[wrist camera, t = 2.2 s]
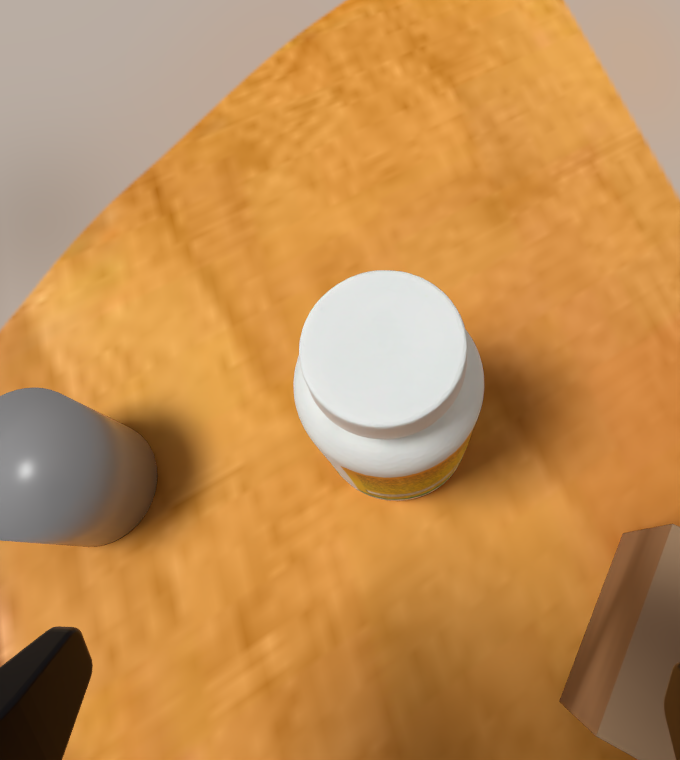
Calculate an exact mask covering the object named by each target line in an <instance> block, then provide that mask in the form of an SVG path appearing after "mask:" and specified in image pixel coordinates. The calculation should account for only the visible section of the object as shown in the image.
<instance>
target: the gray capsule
mask: <svg viewBox="0 0 680 760" xmlns="http://www.w3.org/2000/svg"><path fill="white" fill-rule="evenodd" d="M156 486H157V465H156V460H155V457H154V454H153V452H152V450H151V448H150V446H149V444H148V443H147V442H146V440H145V439H144V438H143V437H142V436H141V435H140V434H139V433H137V432H136V431H135V430H133V429H131V428H129V427H127V426H125V425H123V424H121V423H119V422H117V421H115V420H113V419H111V418H109V417H107V416H105V415H103V414H101V413H99V412H97V411H95V410H93V409H91V408H89V407H87V406H85V405H83V404H81V403H79V402H76V401H74V400H72V399H70V398H68V397H66V396H64V395H62V394H60V393H58V392H55V391H52V390H49V389H44V388H24V389H19V390H15V391H12V392H9V393H6V394H4V395H2V396H0V540H2V541H15V542H29V543H42V544H56V545H70V546H83V547H96V546H102V545H106V544H109V543H112V542H114V541H116V540H118V539H120V538H122V537H123V536H125V535H126V534H128V533H129V532H130V531H131V530H133V529H134V528H135V527H136V526H137V525H138V524H139V522H140V521H141V520H142V519H143V517H144V516H145V514H146V513H147V511H148V509H149V507H150V505H151V503H152V501H153V498H154V495H155V491H156Z"/></svg>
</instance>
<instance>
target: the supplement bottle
mask: <svg viewBox="0 0 680 760" xmlns="http://www.w3.org/2000/svg"><path fill="white" fill-rule="evenodd" d="M483 396H484V372H483V366H482V362H481V359H480V355H479V353H478V350H477V348H476V345H475V344H474V342H473V340H472V338H471V337H470V335H469V333H468V332H467V331H466V329H465V327H464V324H463V321H462V318H461V316H460V314H459V312H458V310H457V309H456V307H455V306H454V304H453V303H452V301H451V300H450V299H449V298H448V297H447V296H446V294H445V293H444V292H442V291H441V290H440V289H439V288H437V287H436V286H435V285H433V284H432V283H430V282H429V281H427V280H425V279H423V278H420V277H418V276H416V275H413V274H410V273H405V272H401V271H385V270H379V271H371V272H365V273H361V274H358V275H355V276H353V277H350V278H348V279H346V280H344V281H342V282H341V283H339V284H337V285H336V286H335V287H333V288H332V289H330V290H329V291H328V292H327V293H326V294H325V295H323V296H322V297H321V299H320V300H319V301H318V302H317V303H316V304H315V306H314V307H313V309H312V310H311V312H310V314H309V315H308V317H307V319H306V321H305V324H304V327H303V330H302V334H301V338H300V345H299V357H298V360H297V364H296V368H295V374H294V398H295V404H296V409H297V412H298V415H299V418H300V420H301V422H302V424H303V427H304V428H305V430H306V432H307V434H308V435H309V437H310V438H311V440H312V441H313V442H314V443H315V445H316V446H317V447H318V448H319V450H320V451H321V452H322V453H323V454H324V456H325V457H326V458H327V459H328V460H329V461H330V463H331V464H332V465H333V466H334V468H335V469H336V470H337V472H338V473H339V474H340V476H342V477H343V478H344V479H345V480H346V481H347V482H348V483H349V484H350V485H352V486H353V487H354V488H356V489H357V490H359V491H361V492H362V493H365V494H367V495H369V496H372V497H375V498H378V499H383V500H394V501H398V500H409V499H414V498H418V497H421V496H424V495H426V494H428V493H431V492H432V491H434V490H436V489H437V488H439V487H440V486H441V485H443V484H444V483H445V482H446V481H447V480H448V479H449V478H450V477H451V475H452V474H453V473H454V472H455V470H456V469H457V467H458V465H459V464H460V462H461V460H462V458H463V455H464V453H465V451H466V448H467V445H468V443H469V440H470V437H471V435H472V432H473V429H474V427H475V424H476V421H477V419H478V416H479V413H480V410H481V407H482V402H483Z"/></svg>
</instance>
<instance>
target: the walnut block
mask: <svg viewBox="0 0 680 760" xmlns="http://www.w3.org/2000/svg"><path fill="white" fill-rule="evenodd" d="M679 662H680V527H679V526H676V525H674V524H669V525H664V526H659V527H654V528H649V529H644V530H638V531H633V532H628V533H623V535H622V537H621V540H620V542H619V545H618V548H617V550H616V553H615V556H614V558H613V561H612V564H611V566H610V569H609V572H608V574H607V577H606V579H605V582H604V585H603V587H602V590H601V593H600V595H599V598H598V601H597V603H596V606H595V608H594V611H593V614H592V616H591V619H590V622H589V624H588V627H587V630H586V632H585V635H584V638H583V640H582V643H581V645H580V648H579V651H578V653H577V656H576V659H575V661H574V664H573V667H572V669H571V672H570V674H569V677H568V680H567V682H566V685H565V688H564V690H563V693H562V696H561V698H560V701H559V702H560V703H561V704H563V705H564V706H565V707H566V708H567V709H568V710H569V711H570V712H571V713H572V714H573V715H574V716H575V717H576V718H577V719H578V720H579V721H581V722H582V723H583V724H584V725H585V726H586V727H587V728H588V729H589V730H590V731H591V732H592V733H593V734H594V735H595V736H597V737H598V738H600V739H602V740H604V741H606V742H607V743H609V744H611V745H613V746H615V747H616V748H618V749H620V750H622V751H624V752H625V753H627V754H629V755H631V756H633V757H634V758H636V759H638V760H676V758H675V754H674V750H673V746H672V742H671V738H670V734H669V730H668V726H667V722H666V718H665V712H664V698H665V694H666V690H667V687H668V683H669V680H670V676H671V673H672V669H673V667H674V665H675V664H677V663H679Z"/></svg>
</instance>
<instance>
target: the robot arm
mask: <svg viewBox="0 0 680 760" xmlns="http://www.w3.org/2000/svg"><path fill="white" fill-rule="evenodd" d="M91 674H92V659H91V656H90V654H89V651H88V648H87V646H86V643H85V641H84V638H83V635H82V633H81V631H80V630H79V629H77V628H74V627H53V628H51V629H49V630H48V631H46V632H45V633H44V634H42V635H41V636H40V637H38V638H37V639H36V640H35V641H33V642H32V643H31V644H29V645H28V646H27V647H26V648H24V649H23V650H22V651H20V652H19V653H18V654H17V655H15V656H14V657H13V658H11V659H10V660H9V661H8V662H6V663H5V664H4V665H2V666H1V667H0V760H62V758H63V755H64V753H65V750H66V747H67V744H68V741H69V738H70V735H71V732H72V730H73V727H74V724H75V721H76V718H77V715H78V712H79V710H80V707H81V704H82V701H83V698H84V695H85V692H86V689H87V687H88V684H89V681H90V678H91ZM664 712H665V718H666V722H667V726H668V730H669V734H670V738H671V742H672V746H673V750H674V754H675V758H676V760H680V662H679V663H677V664H675V665H674V667H673V669H672V673H671V676H670V680H669V683H668V687H667V690H666V694H665V698H664Z"/></svg>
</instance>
